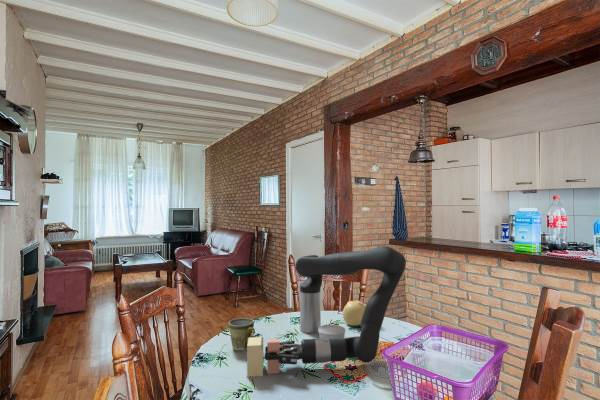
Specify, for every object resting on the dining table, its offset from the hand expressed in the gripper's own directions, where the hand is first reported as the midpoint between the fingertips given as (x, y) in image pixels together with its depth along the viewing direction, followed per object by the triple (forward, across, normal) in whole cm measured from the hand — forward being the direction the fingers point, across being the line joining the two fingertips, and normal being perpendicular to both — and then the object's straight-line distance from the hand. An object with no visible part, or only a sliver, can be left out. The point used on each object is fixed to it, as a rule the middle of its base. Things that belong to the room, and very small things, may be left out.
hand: (265, 353), depth 112 cm
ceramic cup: (+9, -20, +6) cm, 22 cm away
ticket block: (+3, 0, +6) cm, 7 cm away
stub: (-3, 0, +6) cm, 7 cm away
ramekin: (-27, -23, +6) cm, 36 cm away
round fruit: (-42, -44, +6) cm, 61 cm away
